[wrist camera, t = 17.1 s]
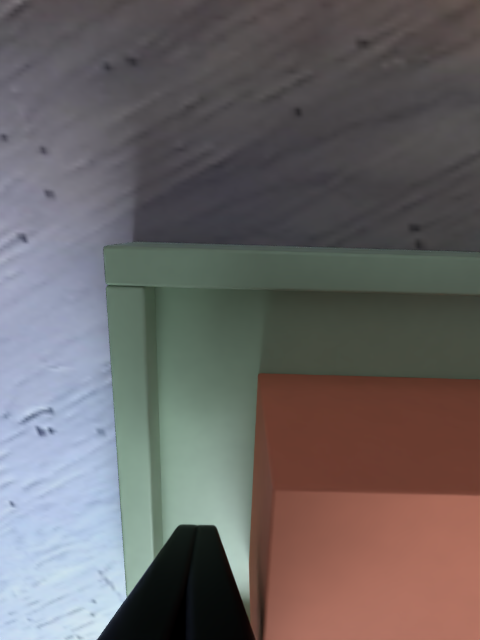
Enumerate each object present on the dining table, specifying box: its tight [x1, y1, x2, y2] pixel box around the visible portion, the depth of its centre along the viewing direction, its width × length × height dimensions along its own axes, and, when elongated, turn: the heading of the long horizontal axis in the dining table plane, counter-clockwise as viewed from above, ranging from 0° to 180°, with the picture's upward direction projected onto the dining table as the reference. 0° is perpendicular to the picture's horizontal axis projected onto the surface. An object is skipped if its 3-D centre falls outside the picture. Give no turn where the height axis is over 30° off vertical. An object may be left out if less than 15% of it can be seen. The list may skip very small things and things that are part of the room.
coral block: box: [249, 373, 480, 640], centre depth 8 cm, size 9×6×4 cm, turn 88°
